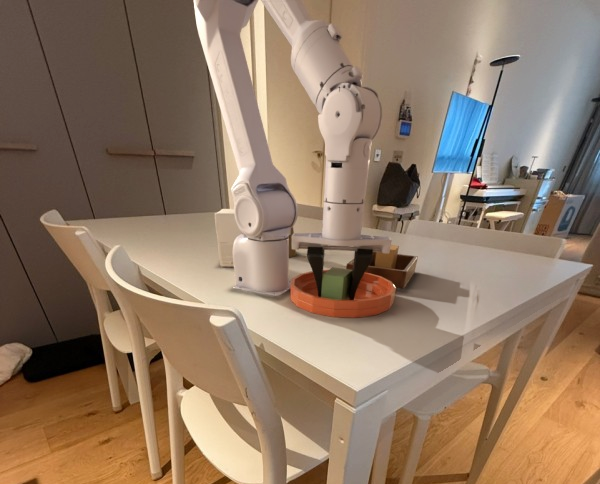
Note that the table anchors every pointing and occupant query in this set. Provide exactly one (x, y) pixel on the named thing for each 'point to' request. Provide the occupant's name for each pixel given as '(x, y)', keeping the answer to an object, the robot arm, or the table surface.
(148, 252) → the table surface
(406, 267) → the holder
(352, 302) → the orange round tray
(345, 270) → the green block
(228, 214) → the small box
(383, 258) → the light brown block
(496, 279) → the table surface
